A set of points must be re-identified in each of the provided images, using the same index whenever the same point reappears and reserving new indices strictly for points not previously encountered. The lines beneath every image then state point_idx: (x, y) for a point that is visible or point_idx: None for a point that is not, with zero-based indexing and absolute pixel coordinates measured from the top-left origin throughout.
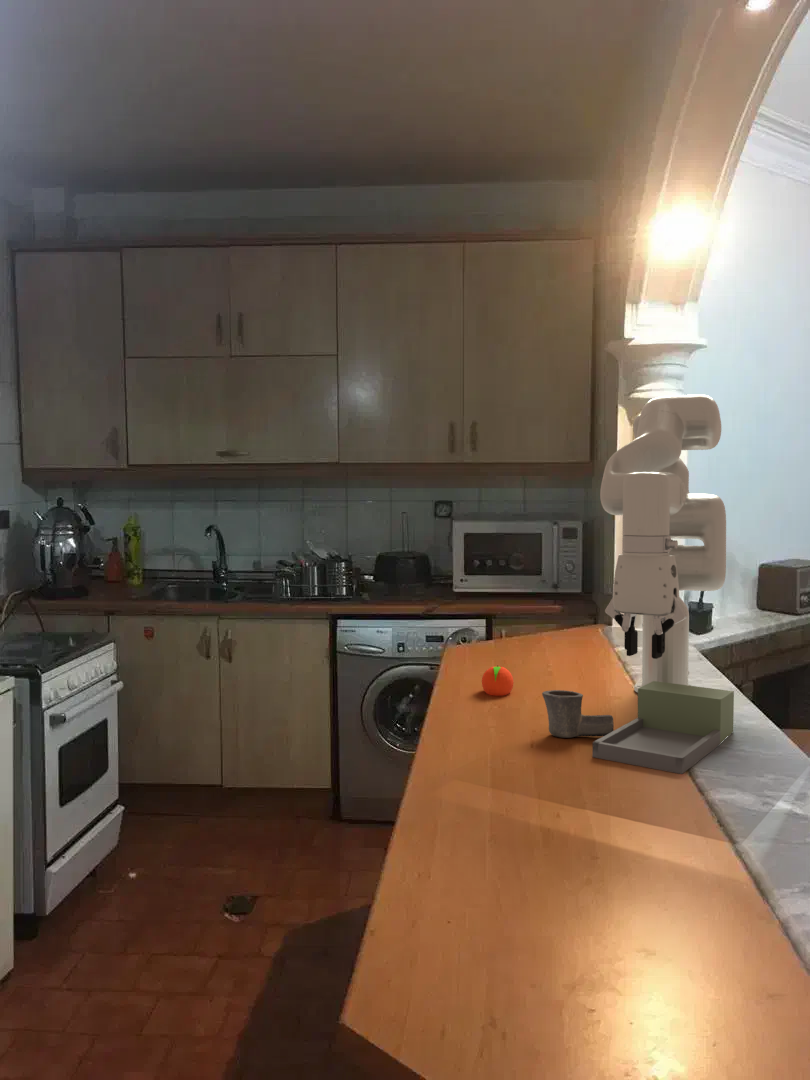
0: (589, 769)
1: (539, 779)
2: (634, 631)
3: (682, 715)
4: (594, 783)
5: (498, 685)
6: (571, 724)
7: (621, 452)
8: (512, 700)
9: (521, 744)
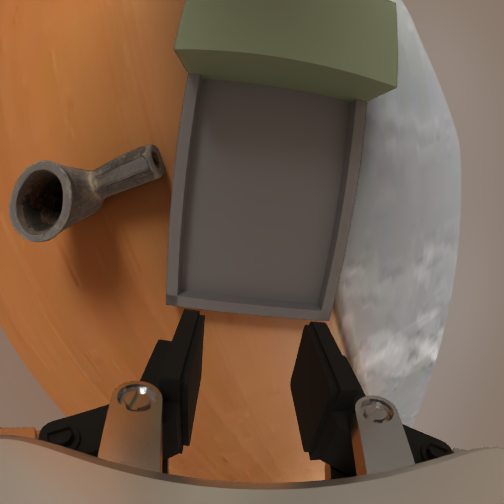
0: None
1: None
2: (180, 407)
3: (294, 78)
4: (221, 391)
5: None
6: (90, 213)
7: None
8: None
9: (60, 277)
